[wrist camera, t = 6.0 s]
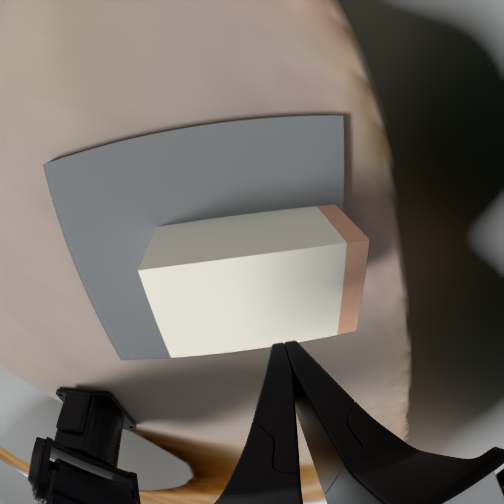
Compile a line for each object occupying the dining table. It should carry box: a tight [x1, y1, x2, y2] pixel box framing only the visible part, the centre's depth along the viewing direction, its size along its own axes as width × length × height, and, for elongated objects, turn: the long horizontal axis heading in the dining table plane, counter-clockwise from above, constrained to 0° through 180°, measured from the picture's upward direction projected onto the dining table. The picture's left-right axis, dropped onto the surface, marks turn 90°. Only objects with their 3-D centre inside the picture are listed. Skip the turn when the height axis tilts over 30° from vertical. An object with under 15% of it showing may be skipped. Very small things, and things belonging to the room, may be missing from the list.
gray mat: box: [43, 115, 344, 360], centre depth 16 cm, size 14×15×1 cm
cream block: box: [138, 204, 369, 358], centre depth 14 cm, size 5×4×9 cm
